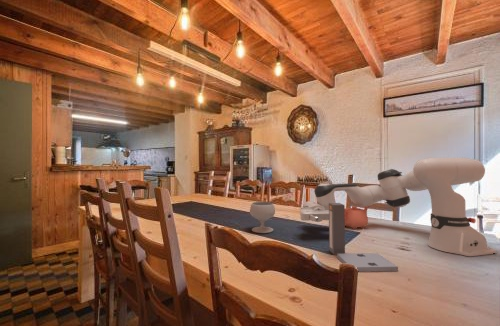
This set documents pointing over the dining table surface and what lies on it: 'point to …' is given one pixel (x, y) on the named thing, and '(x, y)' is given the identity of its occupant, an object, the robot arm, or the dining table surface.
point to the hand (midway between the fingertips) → (326, 219)
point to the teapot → (356, 217)
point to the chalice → (262, 215)
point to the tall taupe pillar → (336, 228)
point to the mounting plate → (367, 262)
